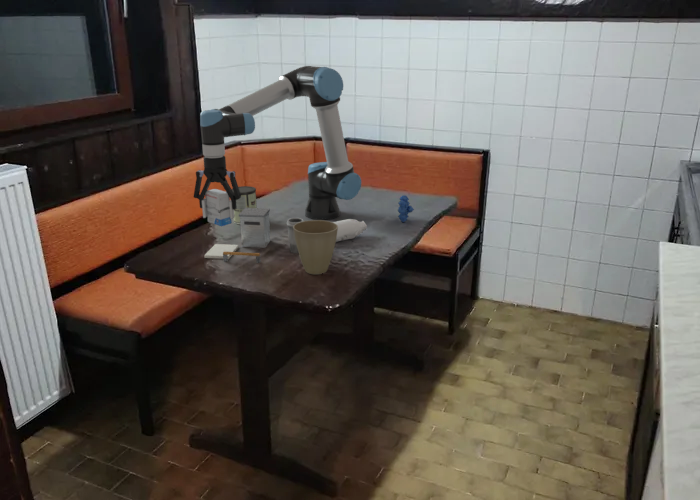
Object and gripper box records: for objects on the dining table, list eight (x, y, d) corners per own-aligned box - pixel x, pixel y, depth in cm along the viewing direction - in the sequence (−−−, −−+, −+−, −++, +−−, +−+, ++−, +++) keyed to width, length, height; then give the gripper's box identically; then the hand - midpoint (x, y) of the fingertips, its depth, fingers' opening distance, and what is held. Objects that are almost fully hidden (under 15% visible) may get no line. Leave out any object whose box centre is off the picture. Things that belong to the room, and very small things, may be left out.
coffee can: (236, 217, 268) (234, 185, 263) (260, 218, 267) (258, 186, 262) (230, 224, 259) (227, 192, 254) (254, 225, 258) (252, 192, 253)
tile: (238, 247, 233) (238, 244, 232) (228, 258, 221) (228, 256, 221) (215, 246, 234) (215, 243, 233) (204, 257, 222) (204, 255, 222)
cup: (285, 249, 231) (283, 218, 227) (301, 246, 233) (301, 216, 229) (291, 255, 225) (289, 224, 220) (308, 252, 227) (307, 221, 223)
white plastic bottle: (370, 238, 243) (370, 219, 240) (329, 247, 233) (329, 227, 230) (358, 232, 249) (359, 213, 246) (318, 241, 239) (318, 221, 236)
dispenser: (275, 240, 240) (274, 208, 235) (259, 263, 218) (257, 228, 213) (242, 239, 241) (240, 207, 237) (223, 261, 219) (220, 227, 215)
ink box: (232, 223, 222) (230, 192, 218) (220, 227, 219) (218, 195, 215) (218, 218, 228) (215, 188, 224) (206, 222, 224) (204, 190, 220)
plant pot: (342, 277, 206) (341, 231, 200) (297, 280, 203) (296, 234, 197) (333, 261, 220) (333, 218, 214) (292, 264, 217) (290, 221, 211)
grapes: (410, 227, 255) (411, 199, 251) (394, 225, 257) (395, 197, 253) (416, 219, 266) (417, 191, 261) (400, 217, 267) (401, 190, 263)
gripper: (248, 154, 217) (251, 215, 225) (187, 152, 220) (193, 213, 227) (241, 158, 210) (245, 221, 218) (179, 157, 213) (185, 219, 220)
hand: (218, 217), depth 223 cm, fingers closed on ink box, 9 cm apart
